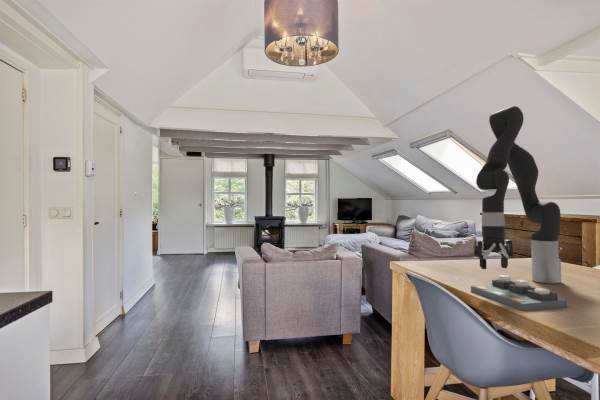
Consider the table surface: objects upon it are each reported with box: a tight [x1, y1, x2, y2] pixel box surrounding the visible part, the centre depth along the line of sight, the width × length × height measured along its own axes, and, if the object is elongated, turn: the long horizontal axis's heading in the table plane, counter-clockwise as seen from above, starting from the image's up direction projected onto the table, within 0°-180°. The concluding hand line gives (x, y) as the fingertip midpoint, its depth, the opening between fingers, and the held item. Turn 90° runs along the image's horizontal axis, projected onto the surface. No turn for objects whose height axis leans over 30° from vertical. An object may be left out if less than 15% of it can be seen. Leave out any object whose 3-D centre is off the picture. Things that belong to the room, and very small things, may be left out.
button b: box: [514, 279, 530, 288], centre depth 119 cm, size 4×4×2 cm
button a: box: [497, 274, 512, 283], centre depth 127 cm, size 4×4×2 cm
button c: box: [535, 287, 551, 294], centre depth 111 cm, size 4×4×2 cm
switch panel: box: [470, 279, 568, 311], centre depth 118 cm, size 16×24×4 cm, turn 10°
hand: (493, 268), depth 126 cm, fingers open, 8 cm apart
